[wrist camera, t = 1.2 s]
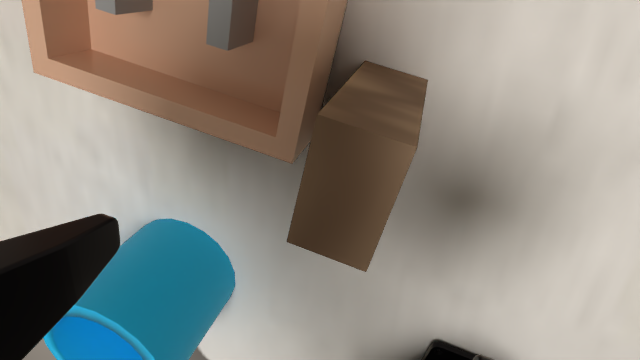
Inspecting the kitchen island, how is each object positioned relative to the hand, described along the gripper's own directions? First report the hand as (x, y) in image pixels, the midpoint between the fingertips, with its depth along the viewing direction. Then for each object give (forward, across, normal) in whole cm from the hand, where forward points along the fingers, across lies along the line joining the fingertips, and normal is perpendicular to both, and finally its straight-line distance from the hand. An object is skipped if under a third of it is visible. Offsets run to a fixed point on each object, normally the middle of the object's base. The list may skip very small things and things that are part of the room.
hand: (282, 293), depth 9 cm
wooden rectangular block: (+12, 0, 0) cm, 12 cm away
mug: (+12, +12, +15) cm, 23 cm away
